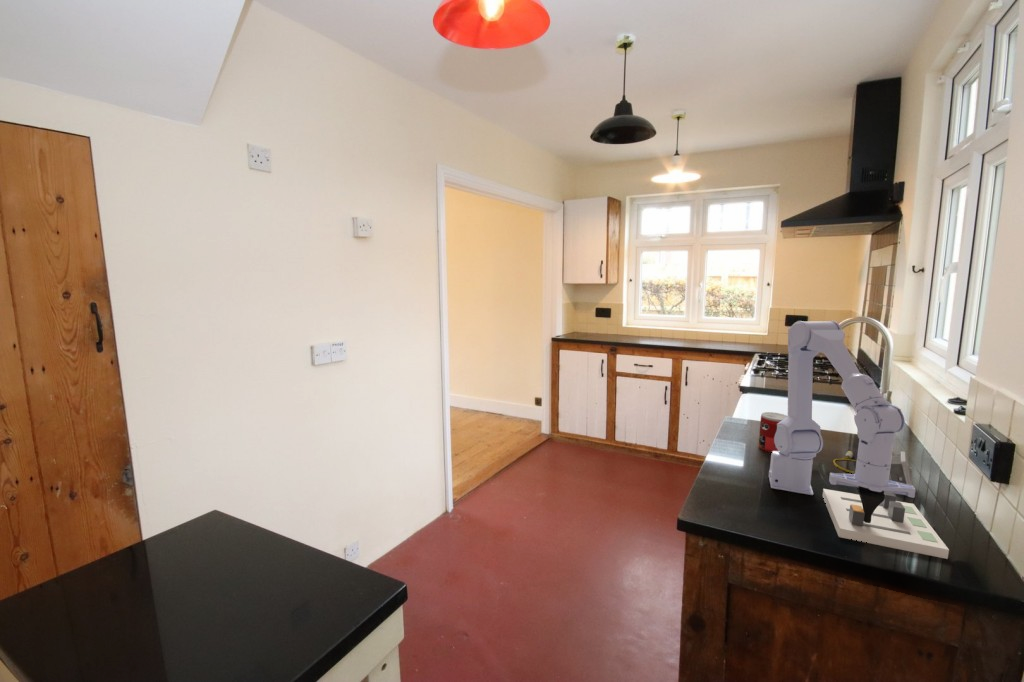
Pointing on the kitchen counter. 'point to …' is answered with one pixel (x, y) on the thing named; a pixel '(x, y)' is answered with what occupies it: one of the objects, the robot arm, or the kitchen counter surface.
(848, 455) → the extension cord
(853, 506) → the handle
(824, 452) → the kitchen counter surface
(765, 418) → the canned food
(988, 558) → the kitchen counter surface
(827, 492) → the breaker panel
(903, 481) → the electrical switch
